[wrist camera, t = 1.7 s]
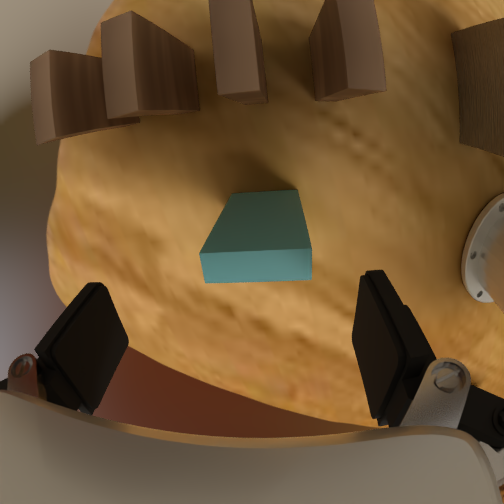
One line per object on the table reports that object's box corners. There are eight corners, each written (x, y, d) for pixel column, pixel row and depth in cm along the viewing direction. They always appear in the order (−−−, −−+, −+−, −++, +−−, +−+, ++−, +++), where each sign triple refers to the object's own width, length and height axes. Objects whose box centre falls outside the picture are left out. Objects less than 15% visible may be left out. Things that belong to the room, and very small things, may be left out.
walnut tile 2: (193, 50, 17) (131, 10, 8) (199, 110, 19) (138, 110, 10) (173, 54, 17) (101, 22, 8) (179, 114, 19) (107, 119, 10)
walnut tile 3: (261, 40, 16) (247, -17, 7) (268, 102, 18) (259, 90, 9) (239, 42, 16) (207, -11, 7) (245, 104, 19) (217, 94, 10)
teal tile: (232, 193, 22) (199, 253, 13) (297, 189, 21) (311, 248, 12) (234, 213, 22) (205, 283, 14) (298, 209, 22) (311, 279, 13)
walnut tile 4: (330, 39, 16) (370, -14, 7) (337, 101, 18) (386, 90, 9) (308, 38, 16) (332, -18, 7) (315, 101, 18) (348, 88, 9)
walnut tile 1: (133, 65, 17) (49, 49, 8) (140, 122, 20) (55, 137, 11) (117, 71, 17) (30, 62, 9) (123, 126, 20) (36, 145, 11)
